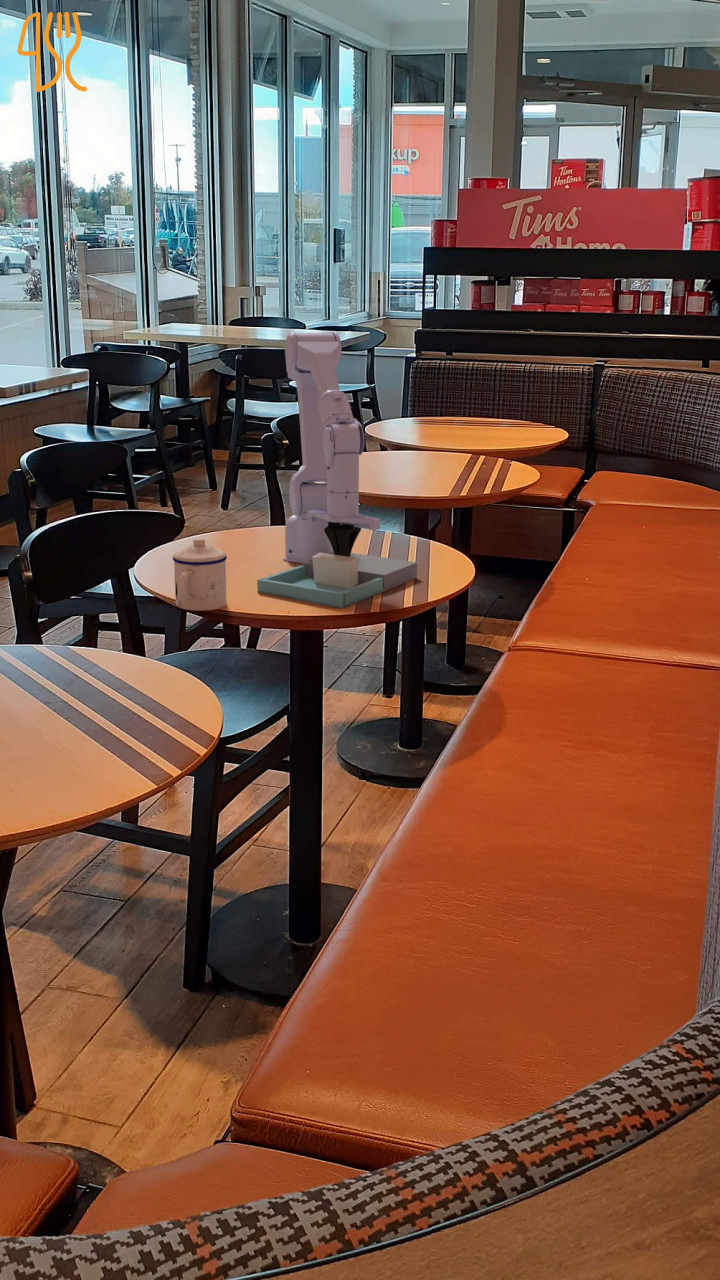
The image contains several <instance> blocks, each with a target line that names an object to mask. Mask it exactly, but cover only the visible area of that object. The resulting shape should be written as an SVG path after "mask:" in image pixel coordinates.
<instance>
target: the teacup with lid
mask: <svg viewBox="0 0 720 1280" xmlns="http://www.w3.org/2000/svg"><path fill="white" fill-rule="evenodd" d="M192 542H193V544H190V545H188V546H186V547H185V548H183V549H180V550H177V551H175V552H174V553H173V556H172V560H173V565H174V566H173V567H174V568H173V569H174V590H175V594H174V595H175V605H176V607H178V608H180V609H182V610H187V611H188V610H189V611H199V612H200V611H201V612H202V611H203V612H204V611H213V610H219V609H221V608H224V607H225V606H226V605H227V575H226V574H227V572H226V570H227V569H226V568H227V567H226V560H227V558H228V557H227V554H226V553H225V551H224V550H222V549H218V548H216V547H214V546H212V545H211V544H206V540H205V539H204V538H201V537H200V538H199V537H198V538H194V539H193V541H192Z"/></svg>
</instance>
